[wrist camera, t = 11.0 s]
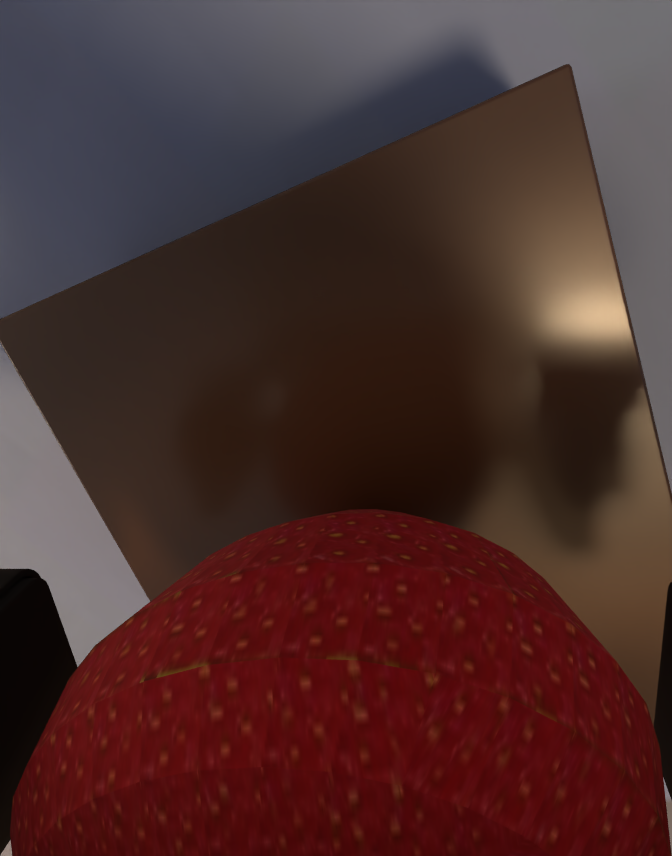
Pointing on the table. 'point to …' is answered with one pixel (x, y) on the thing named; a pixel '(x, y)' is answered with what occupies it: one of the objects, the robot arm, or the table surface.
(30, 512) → the table surface
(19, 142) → the table surface
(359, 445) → the walnut block
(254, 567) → the strawberry
